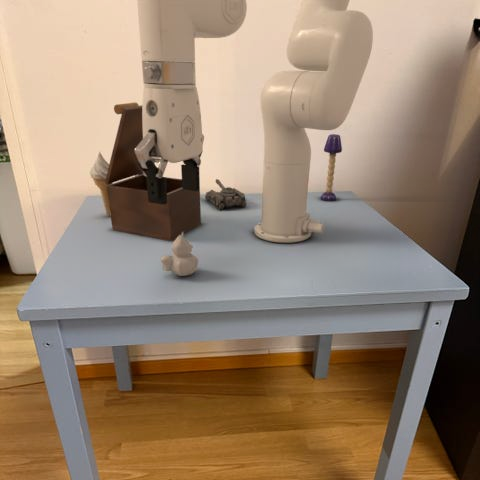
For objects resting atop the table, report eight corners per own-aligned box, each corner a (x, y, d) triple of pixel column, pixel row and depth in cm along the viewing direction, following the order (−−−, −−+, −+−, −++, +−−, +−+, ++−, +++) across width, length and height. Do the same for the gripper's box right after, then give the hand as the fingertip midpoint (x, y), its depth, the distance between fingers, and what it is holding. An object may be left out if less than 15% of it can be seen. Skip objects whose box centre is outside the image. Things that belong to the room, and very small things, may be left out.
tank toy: (201, 199, 123) (200, 180, 121) (233, 196, 127) (233, 177, 124) (216, 211, 114) (216, 191, 111) (250, 208, 117) (251, 187, 115)
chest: (201, 224, 105) (199, 181, 100) (171, 241, 96) (168, 194, 91) (145, 214, 111) (142, 173, 106) (112, 229, 101) (106, 185, 96)
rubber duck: (202, 277, 80) (201, 234, 76) (165, 283, 78) (162, 239, 74) (193, 266, 84) (192, 224, 80) (158, 271, 82) (155, 228, 78)
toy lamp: (337, 201, 123) (345, 136, 114) (320, 201, 123) (326, 136, 115) (334, 197, 127) (341, 133, 119) (317, 197, 127) (324, 133, 119)
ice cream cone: (124, 214, 111) (116, 150, 104) (112, 221, 107) (102, 154, 99) (105, 212, 113) (96, 148, 105) (91, 218, 108) (81, 152, 101)
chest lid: (163, 104, 96) (145, 92, 96) (126, 109, 86) (105, 95, 87) (143, 172, 106) (126, 161, 107) (107, 184, 96) (89, 171, 97)
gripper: (156, 78, 57) (164, 212, 65) (220, 76, 70) (220, 188, 79) (108, 76, 60) (122, 205, 68) (179, 75, 73) (183, 183, 82)
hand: (175, 196), depth 73 cm, fingers open, 9 cm apart
